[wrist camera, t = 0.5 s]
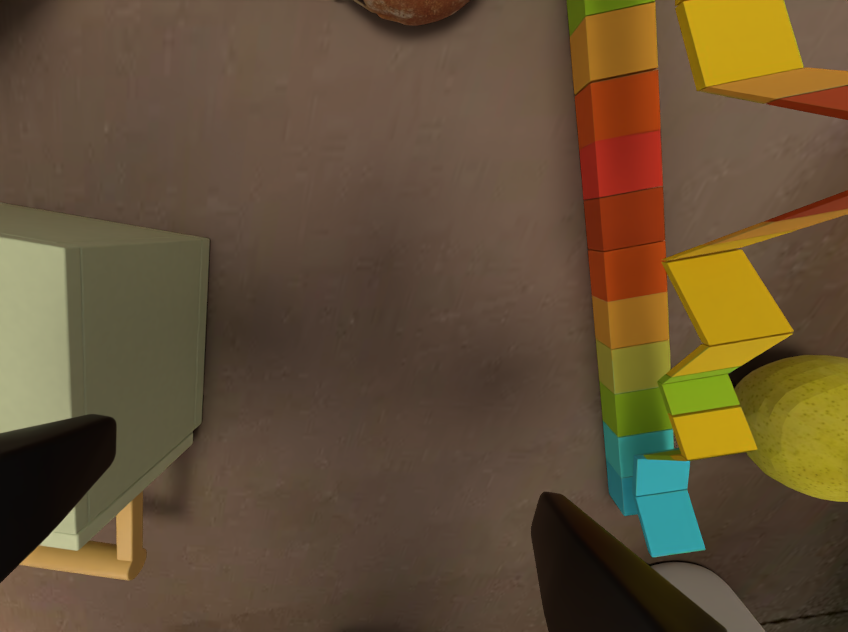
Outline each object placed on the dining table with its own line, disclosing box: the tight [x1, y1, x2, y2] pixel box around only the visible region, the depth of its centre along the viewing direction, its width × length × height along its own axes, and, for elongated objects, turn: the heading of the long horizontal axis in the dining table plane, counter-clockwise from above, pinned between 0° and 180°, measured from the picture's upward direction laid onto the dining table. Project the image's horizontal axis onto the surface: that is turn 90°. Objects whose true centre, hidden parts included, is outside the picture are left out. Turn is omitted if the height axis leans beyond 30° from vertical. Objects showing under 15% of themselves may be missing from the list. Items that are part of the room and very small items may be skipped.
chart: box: [567, 0, 848, 557], centre depth 13 cm, size 30×3×15 cm, turn 10°
